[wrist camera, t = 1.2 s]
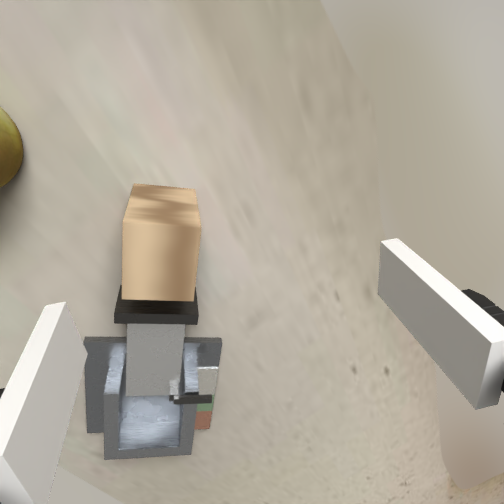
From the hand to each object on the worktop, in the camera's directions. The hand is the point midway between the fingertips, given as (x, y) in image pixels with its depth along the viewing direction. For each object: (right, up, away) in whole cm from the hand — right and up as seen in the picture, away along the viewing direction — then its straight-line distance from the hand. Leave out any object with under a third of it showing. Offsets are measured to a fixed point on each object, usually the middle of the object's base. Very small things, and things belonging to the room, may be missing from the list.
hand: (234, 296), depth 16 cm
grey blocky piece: (-9, -8, +29) cm, 32 cm away
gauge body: (-12, -15, +34) cm, 39 cm away
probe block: (-9, +5, +24) cm, 26 cm away
